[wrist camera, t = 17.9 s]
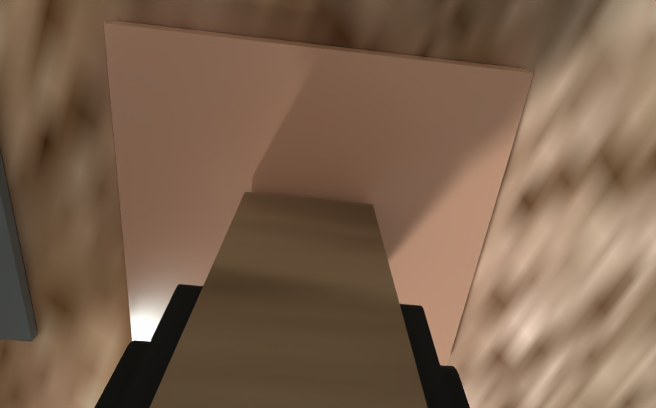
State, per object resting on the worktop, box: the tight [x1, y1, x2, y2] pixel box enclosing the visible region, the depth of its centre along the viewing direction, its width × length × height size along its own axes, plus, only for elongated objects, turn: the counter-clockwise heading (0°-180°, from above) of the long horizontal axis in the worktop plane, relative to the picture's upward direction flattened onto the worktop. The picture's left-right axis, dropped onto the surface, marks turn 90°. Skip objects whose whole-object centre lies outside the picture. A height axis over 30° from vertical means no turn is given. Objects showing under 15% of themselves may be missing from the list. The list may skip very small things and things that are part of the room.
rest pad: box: [103, 21, 534, 366], centre depth 16 cm, size 12×12×1 cm
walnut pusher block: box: [150, 192, 428, 408], centre depth 11 cm, size 4×4×10 cm
